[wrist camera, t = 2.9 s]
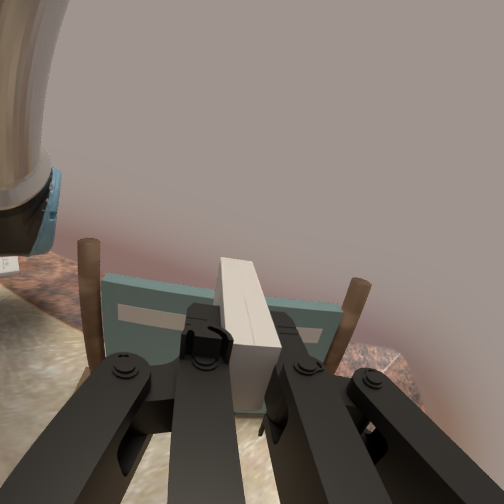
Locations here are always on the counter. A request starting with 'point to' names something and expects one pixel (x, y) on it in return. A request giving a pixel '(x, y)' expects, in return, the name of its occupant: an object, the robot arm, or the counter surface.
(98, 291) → the gate frame
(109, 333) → the gate door
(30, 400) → the counter surface
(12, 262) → the external hard drive
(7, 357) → the counter surface
